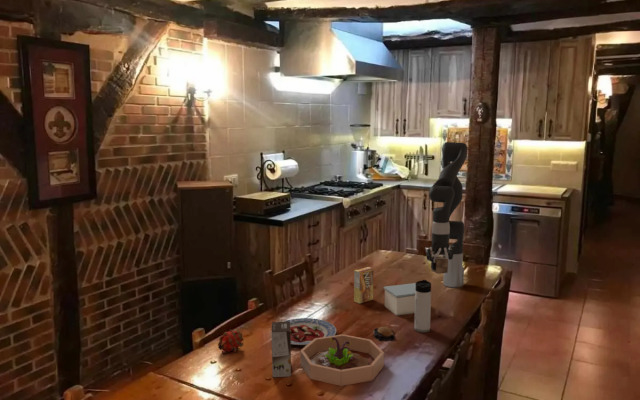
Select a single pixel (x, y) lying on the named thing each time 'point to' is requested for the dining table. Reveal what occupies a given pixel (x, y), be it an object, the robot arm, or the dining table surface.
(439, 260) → the walnut block
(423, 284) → the travel mug
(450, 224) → the robot arm
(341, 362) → the plant
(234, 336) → the dragon fruit
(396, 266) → the dining table surface
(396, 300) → the chest
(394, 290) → the lid
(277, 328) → the coffee box
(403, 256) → the dining table surface
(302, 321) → the ceramic plate
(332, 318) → the dining table surface
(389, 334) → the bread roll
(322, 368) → the brown shallow octagonal piece
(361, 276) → the candy box
